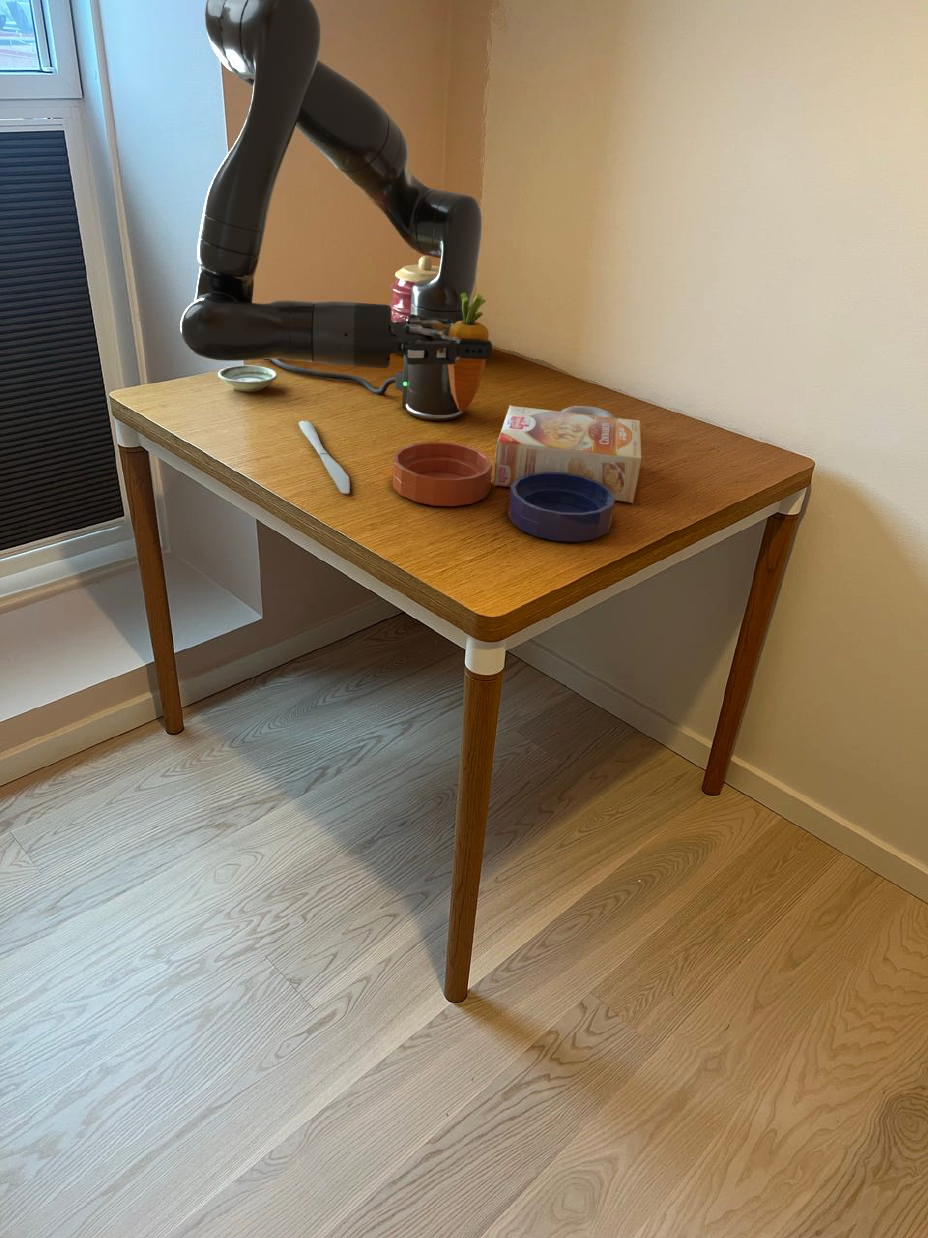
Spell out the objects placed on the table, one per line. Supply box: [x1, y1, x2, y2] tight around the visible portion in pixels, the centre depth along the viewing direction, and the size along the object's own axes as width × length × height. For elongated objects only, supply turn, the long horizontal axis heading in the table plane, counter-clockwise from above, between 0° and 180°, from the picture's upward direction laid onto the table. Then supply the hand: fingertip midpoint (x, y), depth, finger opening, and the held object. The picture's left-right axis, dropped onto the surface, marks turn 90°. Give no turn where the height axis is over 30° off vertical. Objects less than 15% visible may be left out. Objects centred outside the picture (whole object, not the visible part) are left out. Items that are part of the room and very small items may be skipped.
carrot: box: [448, 293, 490, 413], centre depth 114 cm, size 5×5×15 cm
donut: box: [560, 405, 616, 418], centre depth 146 cm, size 10×4×10 cm
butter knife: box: [298, 420, 351, 495], centre depth 131 cm, size 1×27×3 cm
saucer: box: [217, 364, 278, 392], centre depth 154 cm, size 10×10×2 cm
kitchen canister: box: [389, 255, 440, 322], centre depth 176 cm, size 13×13×18 cm
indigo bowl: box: [507, 472, 616, 543], centre depth 118 cm, size 13×13×4 cm
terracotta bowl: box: [392, 441, 493, 507], centre depth 124 cm, size 13×13×4 cm
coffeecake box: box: [493, 404, 642, 504], centre depth 130 cm, size 15×7×20 cm
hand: (488, 343), depth 114 cm, fingers closed on carrot, 5 cm apart
